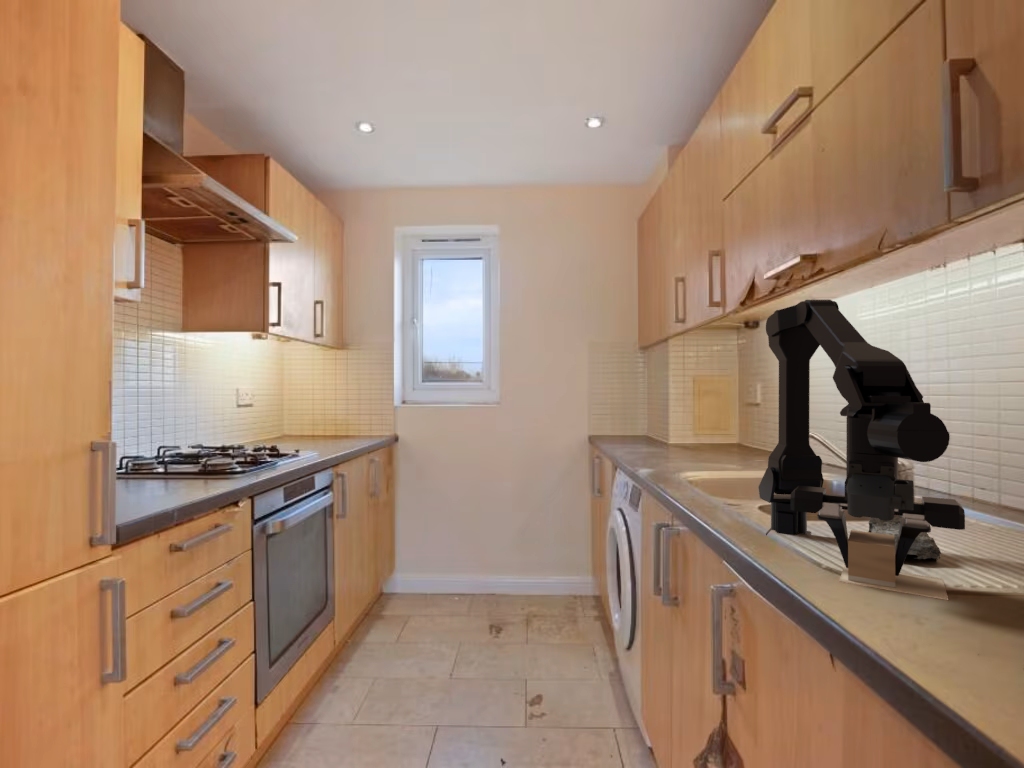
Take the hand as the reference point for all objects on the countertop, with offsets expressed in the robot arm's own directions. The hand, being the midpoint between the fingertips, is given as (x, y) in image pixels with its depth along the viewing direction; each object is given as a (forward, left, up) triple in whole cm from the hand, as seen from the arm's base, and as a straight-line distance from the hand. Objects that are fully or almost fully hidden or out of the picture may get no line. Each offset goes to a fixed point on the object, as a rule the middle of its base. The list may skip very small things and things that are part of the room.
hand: (871, 571), depth 73 cm
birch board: (0, +2, -2) cm, 3 cm away
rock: (-15, +3, -2) cm, 16 cm away
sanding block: (0, 0, -1) cm, 1 cm away
